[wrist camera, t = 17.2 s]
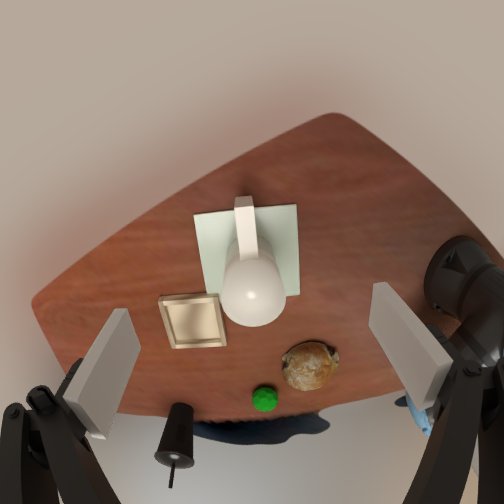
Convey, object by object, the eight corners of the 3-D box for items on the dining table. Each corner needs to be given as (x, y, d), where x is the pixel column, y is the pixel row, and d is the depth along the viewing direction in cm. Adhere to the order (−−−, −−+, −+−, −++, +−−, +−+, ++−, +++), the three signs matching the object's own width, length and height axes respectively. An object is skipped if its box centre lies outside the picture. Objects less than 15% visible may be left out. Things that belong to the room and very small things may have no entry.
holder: (218, 291, 44) (217, 296, 42) (227, 339, 47) (226, 345, 46) (160, 296, 44) (157, 301, 42) (173, 342, 47) (172, 348, 46)
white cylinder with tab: (275, 275, 43) (287, 322, 32) (229, 280, 43) (226, 329, 32) (268, 189, 38) (280, 210, 27) (217, 195, 38) (208, 217, 27)
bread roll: (291, 327, 52) (276, 354, 45) (346, 339, 48) (338, 368, 41) (286, 366, 55) (272, 393, 48) (335, 377, 51) (327, 406, 45)
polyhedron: (280, 384, 52) (283, 402, 48) (271, 399, 54) (273, 417, 49) (256, 380, 52) (257, 399, 47) (248, 395, 53) (249, 413, 49)
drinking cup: (158, 401, 53) (140, 479, 35) (189, 396, 53) (177, 479, 34) (175, 420, 56) (163, 494, 38) (205, 416, 56) (199, 494, 37)
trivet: (295, 203, 39) (296, 204, 39) (299, 292, 45) (299, 294, 44) (194, 214, 40) (193, 215, 39) (209, 301, 45) (209, 303, 44)
